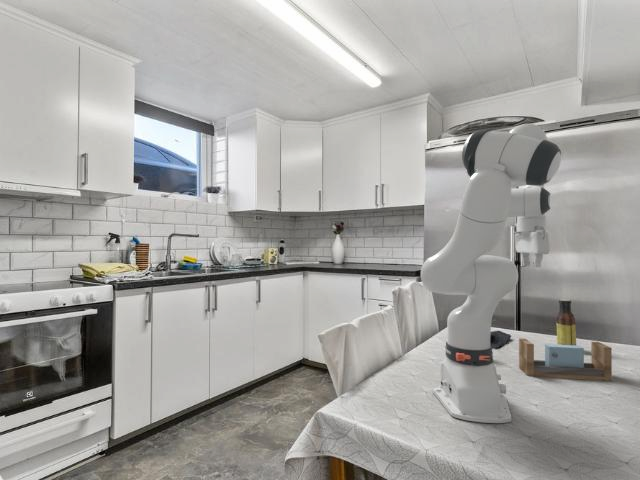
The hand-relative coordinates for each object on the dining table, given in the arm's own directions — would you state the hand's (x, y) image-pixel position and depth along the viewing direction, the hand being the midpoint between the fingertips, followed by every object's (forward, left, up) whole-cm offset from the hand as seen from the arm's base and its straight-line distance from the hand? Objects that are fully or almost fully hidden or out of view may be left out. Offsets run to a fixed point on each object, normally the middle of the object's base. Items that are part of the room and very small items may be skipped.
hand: (531, 266), depth 126 cm
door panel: (-9, -6, -33) cm, 35 cm away
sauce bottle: (+20, -20, -34) cm, 44 cm away
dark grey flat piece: (+28, +7, -35) cm, 45 cm away
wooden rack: (-9, -6, -34) cm, 36 cm away
